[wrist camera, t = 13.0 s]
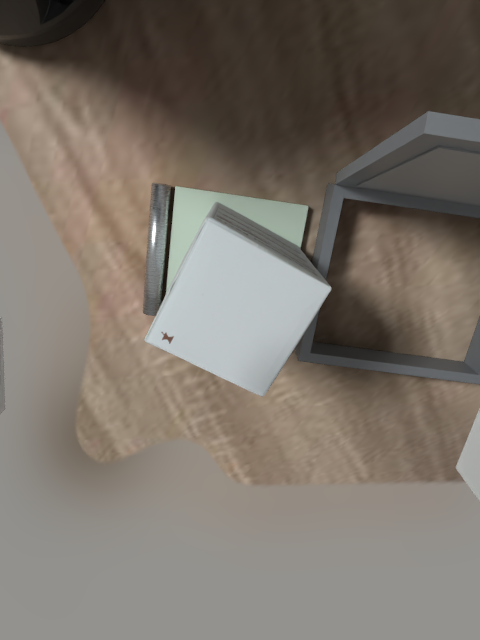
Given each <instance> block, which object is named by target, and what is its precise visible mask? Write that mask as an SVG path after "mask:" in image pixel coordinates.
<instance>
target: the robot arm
mask: <svg viewBox="0 0 480 640" xmlns="http://www.w3.org/2000/svg"><path fill="white" fill-rule="evenodd" d="M104 1H105V0H0V43H1V44H6V45H13V46H36V45H42V44H46V43H50V42H53V41H56V40H59V39H61V38H63V37H66V36H67V35H69V34H71V33H73V32H74V31H76V30H77V29H79V28H80V27H81V26H82V25H84V24H85V23H86V22H87V21H88V20H89V19H90V18H91V17H92V16H93V15H94V14H95V13H96V12H97V10H98V9H99V8H100V6H101V5H102V4H103V2H104ZM4 389H5V388H4V360H3V332H2V317H0V414H1V413H2V412H3V411H4V410H5V390H4ZM456 469H457V471H458V472H459V473H460V475H461V476H462V478H463V479H464V480H465V482H466V483H467V485H468V486H469V487H470V489H471V490H472V492H473V493H474V494H475V496H476V497H477V498H478V500H479V501H480V409H479V411H478V414H477V416H476V419H475V421H474V424H473V426H472V429H471V431H470V434H469V436H468V438H467V441H466V443H465V446H464V448H463V451H462V453H461V456H460V458H459V461H458V463H457V465H456Z"/></svg>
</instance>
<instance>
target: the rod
mask: <svg viewBox="0 0 480 640" xmlns="http://www.w3.org/2000/svg"><path fill="white" fill-rule="evenodd" d="M170 193H171V185H166V184H159V183H152V187H151V201H150V216H149V230H148V244H147V259H146V273H145V288H144V302H143V313H144V314H146V315H152V316H155V315H156V314H157V312H158V310H159V308H160V306H161V300H162V288H163V276H164V264H165V252H166V241H167V229H168V217H169V205H170Z"/></svg>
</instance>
